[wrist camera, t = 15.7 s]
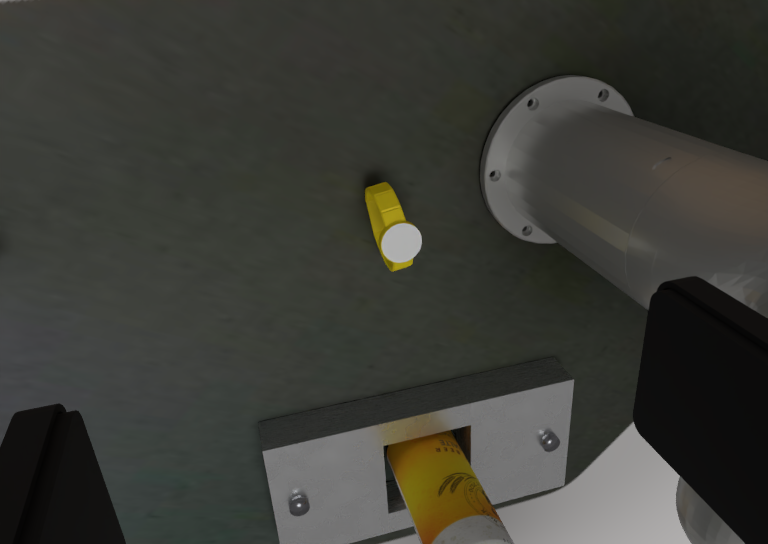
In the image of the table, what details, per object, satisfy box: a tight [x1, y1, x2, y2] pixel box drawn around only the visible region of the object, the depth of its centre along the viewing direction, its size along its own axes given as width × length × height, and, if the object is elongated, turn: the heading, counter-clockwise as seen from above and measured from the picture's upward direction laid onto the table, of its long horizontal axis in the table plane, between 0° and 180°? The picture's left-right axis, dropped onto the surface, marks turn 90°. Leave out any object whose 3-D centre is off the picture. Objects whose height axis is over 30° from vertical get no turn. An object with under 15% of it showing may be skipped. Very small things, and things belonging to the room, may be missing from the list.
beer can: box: [387, 430, 514, 544], centre depth 49 cm, size 6×6×15 cm
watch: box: [365, 182, 422, 272], centre depth 43 cm, size 6×3×6 cm, turn 12°
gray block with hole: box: [258, 357, 574, 544], centre depth 54 cm, size 26×12×4 cm, turn 93°
